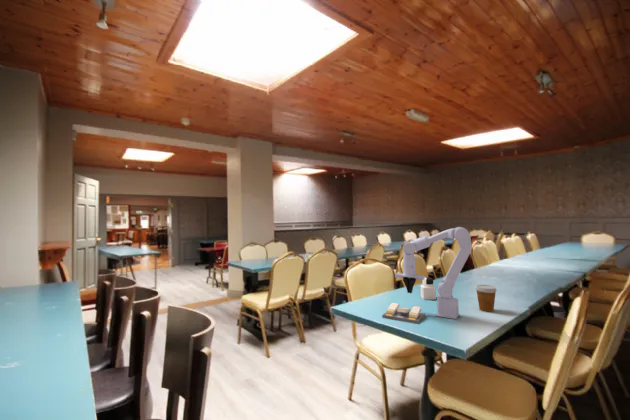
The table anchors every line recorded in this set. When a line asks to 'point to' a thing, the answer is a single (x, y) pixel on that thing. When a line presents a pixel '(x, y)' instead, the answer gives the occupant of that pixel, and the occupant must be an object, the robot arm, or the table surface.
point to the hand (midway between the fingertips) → (409, 292)
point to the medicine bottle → (428, 289)
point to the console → (404, 317)
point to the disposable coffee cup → (486, 297)
